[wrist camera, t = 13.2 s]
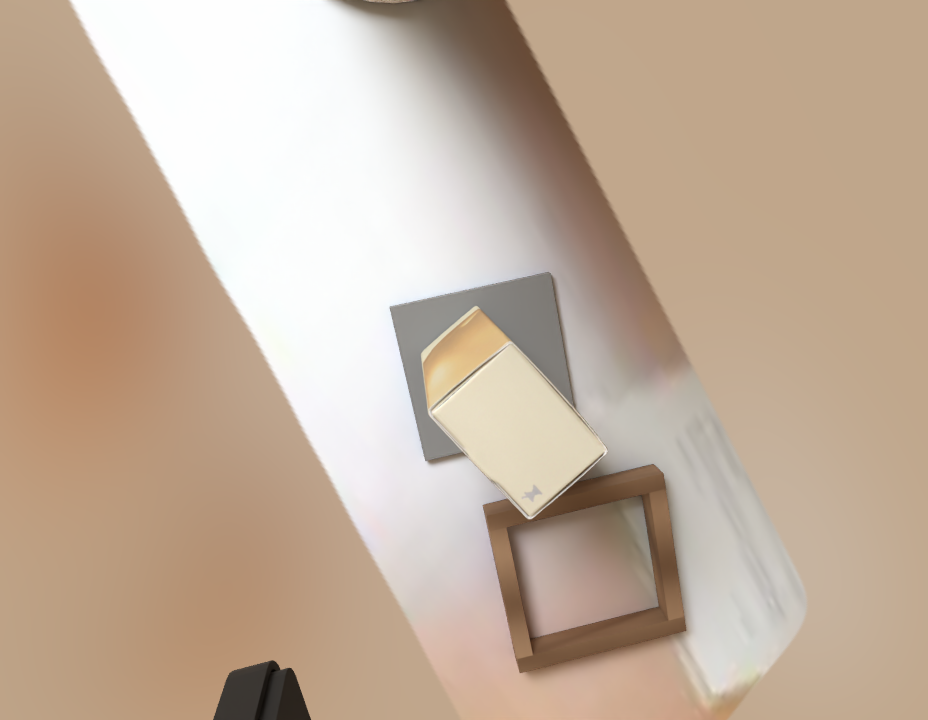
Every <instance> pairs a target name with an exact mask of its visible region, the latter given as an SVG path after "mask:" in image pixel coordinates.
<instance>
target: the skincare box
mask: <svg viewBox="0 0 928 720" xmlns="http://www.w3.org/2000/svg"><path fill="white" fill-rule="evenodd" d="M421 361H422V368H423V377H424V384H425V391H426V399H427V408H428V414H429V416H430V418H432V419H433V421H434V422H435V423H436V424H437V425H438V426H439V427H440V428H441V429H442V430H443V431H444V432H445V434H446V435H447V436H448V437H449V438H450V439H451V440H452V441H453V442H454V443H455V444H456V445H457V446H458V447H459V448H460V449H461V450H462V451H463V452H464V454H465V455H466V456H467V457H468V458H469V459H470V460H471V461H472V462H473V463H474V464H475V465H476V466H477V467H478V468H479V469H480V470H481V472H482V473H483V474H484V475H485V476H486V477H487V478H488V479H489V480H490V481H491V482H492V483H493V484H494V485H495V486H496V487H497V488H498V489H499V490H500V491H501V492H502V493H503V494H504V495H505V496H506V497H507V498H508V499H509V500H510V502H511V503H512V504H513V505H514V506H515V507H516V508H517V509H518V510H519V511H520V512H521V513H522V514H523V515H524V516H525V517H526V518H527V519H528V520H529V519H532V518H534V517H535V516H536V515H537V514H538V513H540V512H541V511H542V510H543V509H544V508H546V507H547V506H548V505H549V504H550V503H552V502H553V501H554V500H555V499H556V498H558V497H559V496H560V495H561V494H562V493H563V492H565V491H566V490H567V489H568V488H569V487H570V486H572V485H573V484H574V483H575V482H576V481H578V480H579V479H580V478H581V477H582V476H583V475H584V474H586V473H587V472H588V471H589V470H590V469H591V468H592V467H593V466H594V465H595V464H596V463H597V462H598V461H599V460H600V459H602V458H603V457H604V456H605V455H606V454H607V448H606V446H605V445H604V444H603V442H602V441H601V440H600V438H599V437H598V436H597V435H596V433H595V432H594V431H593V430H592V428H591V427H590V426H589V425H588V423H587V422H586V421H585V420H584V418H583V417H582V416H581V415H580V414H579V413H578V412H577V410H576V409H575V408H574V407H573V406H572V405H571V404H570V402H569V401H568V400H567V399H566V398H565V397H564V396H563V395H562V393H561V392H560V391H559V390H558V389H557V388H556V387H555V386H554V385H553V384H552V382H551V381H550V380H549V379H548V378H547V377H546V376H545V375H544V374H543V373H542V372H541V371H540V370H539V369H538V368H537V367H536V365H535V364H534V363H533V362H532V361H531V360H530V359H529V358H528V357H527V356H526V355H525V354H524V353H523V352H522V351H521V350H520V349H519V348H518V347H517V346H516V345H515V344H514V343H513V342H512V341H511V340H510V339H509V338H508V337H507V336H506V335H505V334H504V333H503V332H502V331H501V330H500V329H499V328H498V327H497V326H496V325H495V323H494V322H493V321H492V320H491V319H490V318H489V317H488V316H487V315H486V314H485V313H484V312H483V311H482V310H481V309H480V308H479V307H478V306H475V307H473V308H472V309H471V310H470V311H468V312H467V313H466V314H465V315H463V316H462V317H461V318H460V319H459V320H457V321H456V322H455V323H454V324H453V325H452V326H450V327H449V328H448V329H447V330H446V331H445V332H443V333H442V334H441V335H440V336H439V337H438V338H437V339H436V340H434V341H433V342H432V343H431V344H430V345H429V346H428V347H427V348H426V349H424V350H423V351H422V353H421Z"/></svg>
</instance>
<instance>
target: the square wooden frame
mask: <svg viewBox="0 0 928 720" xmlns="http://www.w3.org/2000/svg"><path fill="white" fill-rule="evenodd" d="M639 495H642V500H643V506H644V513H645V519H646V526H647V532H648V539H649V545H650V551H651V558H652V564H653V571H654V577H655V584H656V590H657V597H658V603H659V607H656V608H652V609H648V610H644V611H640V612H636V613H632V614H628V615H624V616H620V617H616V618H612V619H608V620H604V621H600V622H596V623H592V624H588V625H585V626H581V627H577V628H573V629H569V630H565V631H561V632H557V633H553V634H549V635H545V636H541V637H537V638H533V639H530V638H529V634H528V629H527V624H526V619H525V614H524V610H523V605H522V600H521V595H520V590H519V585H518V581H517V576H516V571H515V566H514V561H513V557H512V552H511V547H510V542H509V537H508V532H507V527H511V526H515V525H519V524H523V523H527V522H531V521H535V520H540V519H544V518H548V517H552V516H556V515H560V514H564V513H569V512H573V511H577V510H581V509H585V508H589V507H593V506H597V505H602V504H606V503H610V502H614V501H618V500H622V499H626V498H630V497H635V496H639ZM483 509H484V513H485V518H486V523H487V527H488V532H489V537H490V541H491V546H492V551H493V555H494V560H495V565H496V569H497V574H498V579H499V583H500V588H501V592H502V597H503V602H504V606H505V611H506V616H507V620H508V625H509V630H510V634H511V639H512V644H513V648H514V653H515V658H516V661H517V665H518V668H519V672H520V673H523V672H527V671H531V670H535V669H539V668H542V667H546V666H550V665H554V664H558V663H562V662H566V661H570V660H574V659H578V658H582V657H585V656H589V655H593V654H597V653H601V652H605V651H609V650H613V649H617V648H621V647H624V646H628V645H632V644H636V643H640V642H644V641H648V640H652V639H656V638H660V637H663V636H667V635H671V634H675V633H679V632H683V631H686V625H685V618H684V611H683V604H682V597H681V591H680V584H679V577H678V570H677V563H676V556H675V549H674V543H673V536H672V529H671V522H670V515H669V508H668V501H667V495H666V488H665V481H664V474H663V472H661V471H660V470H659V469H658V468H657V467H656V466H655V465H654V464H652V465H648V466H643V467H639V468H635V469H631V470H627V471H622V472H618V473H614V474H610V475H606V476H602V477H597V478H593V479H589V480H585V481H581V482H576V483H574V484H573V485H572V486H570V487H569V488H568V489H567V490H566V491H565V492H563V493H562V494H561V495H560V496H559V497H558V498H556V499H555V500H554V501H553V502H552V503H550V504H549V505H548V506H547V507H546V508H544V509H543V510H542V511H541V512H540V513H538V514H537V515H536V516H535V517H534V518H532V519H529V520H528V519H527V518H526V517H525V516H524V515H523V514H522V513H521V512H520V511H519V510H518V509H517V508H516V507H515V506H514V505H513V504H512V503H511V502H510V500H509V499H505V500H501V501H497V502H493V503H489V504H485V505H483Z"/></svg>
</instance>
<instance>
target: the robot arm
mask: <svg viewBox="0 0 928 720" xmlns="http://www.w3.org/2000/svg"><path fill="white" fill-rule="evenodd" d="M365 1H369V2H381V3H401V2H408V1H415V0H365ZM213 720H311V718H310V716H309V713H308V710H307V707H306V704H305V701H304V698H303V695H302V693H301V690H300V687H299V684H298V681H297V678H296V675H295V673H294V671H293V670H292V669H291V668H286V669H283V670H280V668H279V665H278V664H277V663H276V662H275V661H268V662H264V663H260V664H257V665H253V666H249V667H245V668H242V669H238V670H234V671H232V672H231V673H229V675H228V678H227V680H226V683H225V686H224V689H223V692H222V695H221V698H220V701H219V704H218V707H217V710H216V713H215V716H214V719H213Z"/></svg>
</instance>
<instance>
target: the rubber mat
mask: <svg viewBox="0 0 928 720" xmlns="http://www.w3.org/2000/svg"><path fill="white" fill-rule="evenodd" d="M475 306H478V307H479V308H480V309H481V310H482V311H483V312H484V313H485V314H486V315H487V316H488V317H489V318H490V319H491V320H492V321H493V322H494V323H495V325H496V326H497V327H498V328H499V329H500V330H501V331H502V332H503V333H504V334H505V335H506V336H507V337H508V338H509V339H510V340H511V341H512V342H513V343H514V344H515V345H516V346H517V347H518V348H519V349H520V350H521V351H522V352H523V353H524V354H525V355H526V356H527V357H528V358H529V359H530V360H531V361H532V362H533V363H534V364H535V365H536V367H537V368H538V369H539V370H540V371H541V372H542V373H543V374H544V375H545V376H546V377H547V378H548V379H549V380H550V381H551V382H552V384H553V385H554V386H555V387H556V388H557V389H558V390H559V391H560V392H561V393H562V395H563V396H564V397H565V398H566V399H567V400H568V401H569V402H570V404H571V405H572V406H573V407H574V405H573V399H572V393H571V388H570V382H569V376H568V370H567V365H566V359H565V353H564V347H563V342H562V336H561V330H560V325H559V319H558V313H557V307H556V302H555V296H554V290H553V284H552V279H551V273H550V272H547V273H542V274H537V275H533V276H528V277H524V278H519V279H514V280H510V281H505V282H501V283H496V284H492V285H487V286H482V287H478V288H473V289H469V290H464V291H460V292H455V293H450V294H446V295H441V296H437V297H432V298H427V299H423V300H418V301H414V302H409V303H405V304H400V305H395V306H391V307H390V311H391V315H392V320H393V324H394V328H395V332H396V337H397V341H398V345H399V350H400V354H401V358H402V363H403V367H404V371H405V376H406V380H407V384H408V388H409V393H410V397H411V401H412V406H413V410H414V414H415V419H416V423H417V427H418V431H419V436H420V440H421V444H422V449H423V453H424V457H425V461H427V460H432V459H436V458H440V457H444V456H449V455H453V454H457V453H462V452H463V451H462V450H461V449H460V448H459V447H458V446H457V445H456V444H455V443H454V442H453V441H452V440H451V439H450V438H449V437H448V436H447V435H446V434H445V432H444V431H443V430H442V429H441V428H440V427H439V426H438V425H437V424H436V423H435V422H434V421H433V419H432V418H430V416H429V414H428V408H427V399H426V391H425V384H424V377H423V368H422V361H421V353H422V351H423V350H424V349H426V348H427V347H428V346H429V345H430V344H431V343H432V342H433V341H434V340H436V339H437V338H438V337H439V336H440V335H441V334H442V333H443V332H445V331H446V330H447V329H448V328H449V327H450V326H452V325H453V324H454V323H455V322H456V321H457V320H459V319H460V318H461V317H462V316H463V315H465V314H466V313H467V312H468V311H470V310H471V309H472V308H473V307H475Z"/></svg>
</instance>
